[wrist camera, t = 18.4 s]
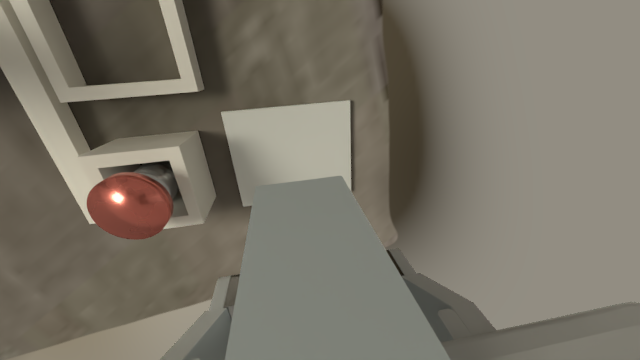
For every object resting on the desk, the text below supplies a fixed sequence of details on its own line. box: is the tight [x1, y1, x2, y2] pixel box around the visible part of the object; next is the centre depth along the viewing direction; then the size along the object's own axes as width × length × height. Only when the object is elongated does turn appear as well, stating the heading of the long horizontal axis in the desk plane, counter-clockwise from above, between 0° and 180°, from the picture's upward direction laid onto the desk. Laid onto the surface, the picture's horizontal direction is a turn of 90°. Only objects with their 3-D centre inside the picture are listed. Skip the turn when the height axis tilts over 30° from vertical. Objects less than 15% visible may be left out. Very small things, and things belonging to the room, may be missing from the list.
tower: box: [76, 131, 216, 229], centre depth 22 cm, size 7×7×5 cm
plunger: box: [87, 160, 180, 239], centre depth 20 cm, size 5×5×7 cm
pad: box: [221, 100, 351, 207], centre depth 25 cm, size 10×12×1 cm
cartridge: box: [225, 176, 451, 360], centre depth 9 cm, size 5×5×13 cm
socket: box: [0, 0, 204, 224], centre depth 18 cm, size 32×13×2 cm, turn 4°
